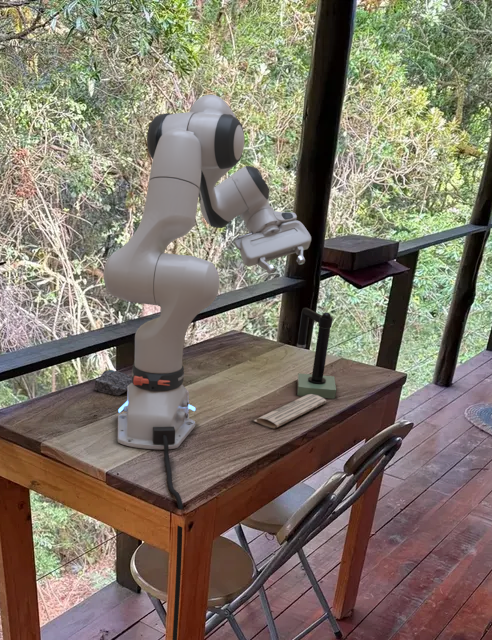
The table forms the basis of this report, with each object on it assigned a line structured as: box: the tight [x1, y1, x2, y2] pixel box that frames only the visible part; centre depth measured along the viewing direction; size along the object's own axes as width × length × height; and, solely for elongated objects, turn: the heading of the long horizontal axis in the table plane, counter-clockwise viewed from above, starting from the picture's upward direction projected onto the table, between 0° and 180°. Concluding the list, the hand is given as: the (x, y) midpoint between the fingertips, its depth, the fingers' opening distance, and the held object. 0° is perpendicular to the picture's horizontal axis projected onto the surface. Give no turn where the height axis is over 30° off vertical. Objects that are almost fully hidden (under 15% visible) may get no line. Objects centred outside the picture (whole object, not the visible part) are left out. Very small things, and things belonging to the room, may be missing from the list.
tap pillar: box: [308, 326, 331, 384], centre depth 200 cm, size 5×5×15 cm
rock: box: [94, 369, 132, 396], centre depth 197 cm, size 8×10×4 cm
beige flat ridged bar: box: [253, 394, 327, 429], centre depth 189 cm, size 24×7×2 cm, turn 140°
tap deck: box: [296, 372, 337, 400], centre depth 204 cm, size 11×10×2 cm
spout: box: [296, 307, 334, 349], centre depth 201 cm, size 13×3×12 cm, turn 23°
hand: (287, 267), depth 204 cm, fingers open, 8 cm apart
